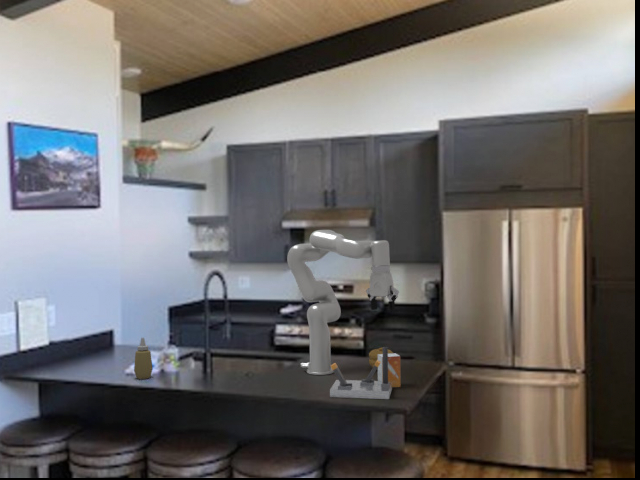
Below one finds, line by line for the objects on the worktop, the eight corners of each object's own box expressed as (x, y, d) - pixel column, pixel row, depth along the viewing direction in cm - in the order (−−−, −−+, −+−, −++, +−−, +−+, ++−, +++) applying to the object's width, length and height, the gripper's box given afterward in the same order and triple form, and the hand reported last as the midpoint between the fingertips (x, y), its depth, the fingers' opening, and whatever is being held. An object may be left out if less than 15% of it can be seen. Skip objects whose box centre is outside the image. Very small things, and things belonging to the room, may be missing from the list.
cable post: (381, 390, 254) (380, 348, 254) (382, 388, 257) (381, 346, 257) (389, 390, 254) (388, 348, 253) (389, 388, 257) (389, 346, 257)
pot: (366, 371, 301) (366, 349, 300) (371, 365, 312) (370, 344, 312) (392, 372, 298) (392, 350, 298) (395, 366, 309) (395, 345, 309)
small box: (382, 388, 269) (381, 356, 269) (377, 384, 275) (377, 353, 275) (401, 387, 271) (400, 355, 270) (395, 383, 277) (395, 352, 277)
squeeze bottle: (156, 376, 296) (155, 336, 296) (144, 380, 289) (143, 340, 289) (142, 375, 300) (141, 335, 299) (130, 379, 292) (129, 338, 292)
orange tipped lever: (342, 386, 258) (330, 366, 258) (343, 384, 261) (331, 364, 261) (345, 384, 257) (334, 364, 258) (347, 382, 260) (335, 362, 261)
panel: (330, 397, 257) (329, 386, 257) (336, 387, 272) (336, 377, 272) (389, 399, 252) (388, 388, 252) (392, 388, 268) (391, 378, 268)
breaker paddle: (365, 380, 263) (376, 361, 262) (366, 378, 266) (377, 359, 265) (369, 382, 263) (380, 363, 262) (369, 381, 266) (380, 362, 265)
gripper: (360, 270, 281) (361, 310, 281) (391, 270, 269) (393, 312, 269) (371, 269, 286) (373, 308, 286) (402, 269, 274) (404, 310, 274)
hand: (382, 310), depth 277 cm, fingers open, 9 cm apart
